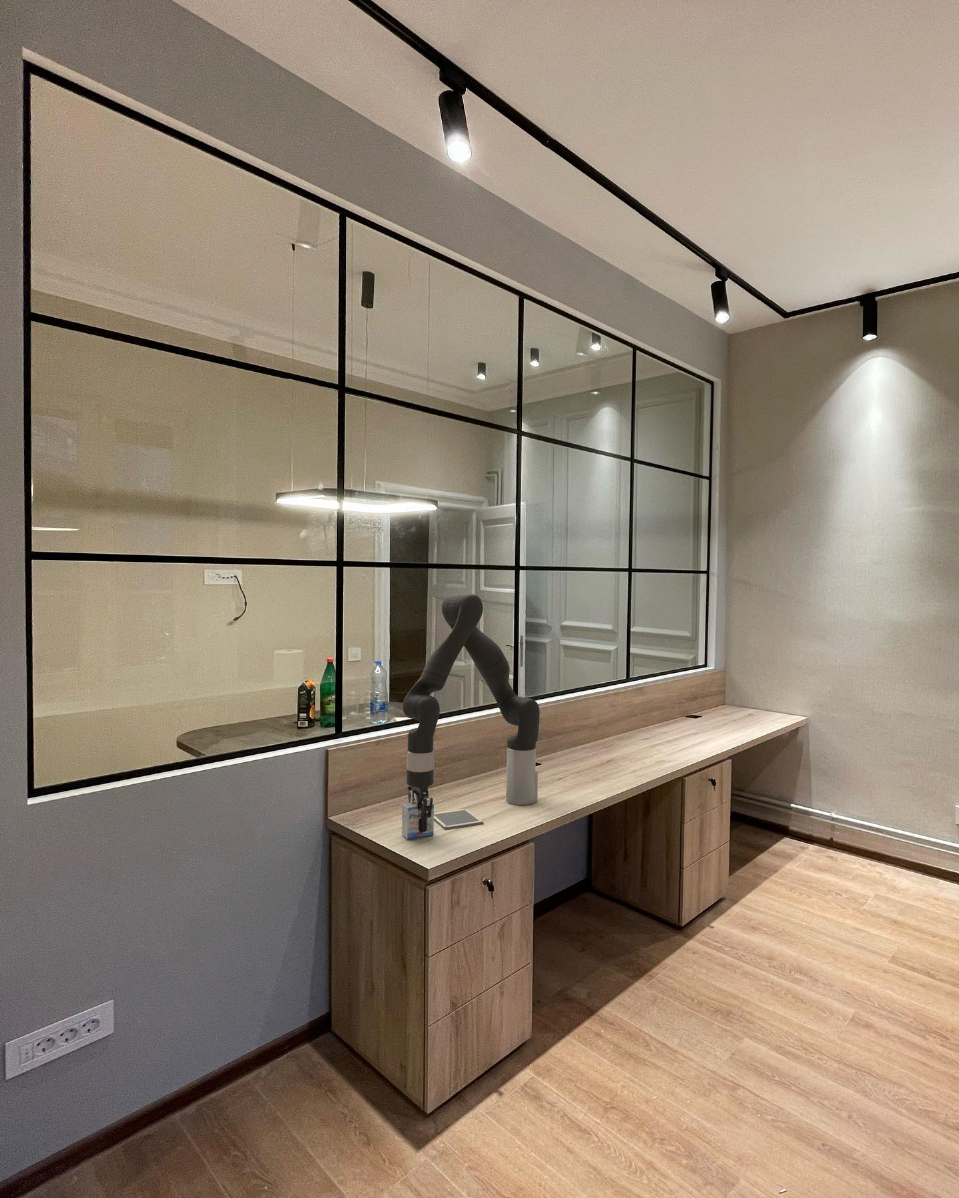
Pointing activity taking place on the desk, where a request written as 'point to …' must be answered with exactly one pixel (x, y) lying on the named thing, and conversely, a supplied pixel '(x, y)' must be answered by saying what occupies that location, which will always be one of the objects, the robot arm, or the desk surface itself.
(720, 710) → the desk surface
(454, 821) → the mat
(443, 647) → the robot arm
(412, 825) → the medicine box
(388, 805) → the desk surface
